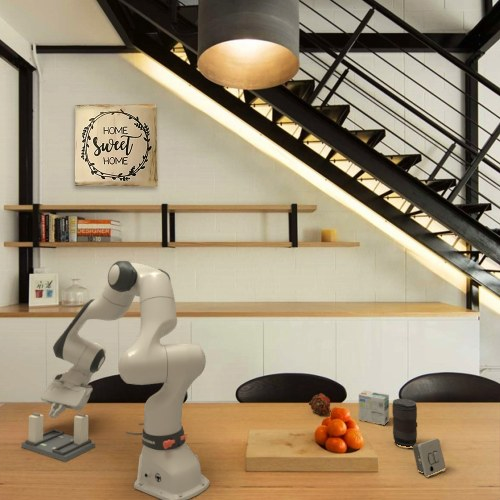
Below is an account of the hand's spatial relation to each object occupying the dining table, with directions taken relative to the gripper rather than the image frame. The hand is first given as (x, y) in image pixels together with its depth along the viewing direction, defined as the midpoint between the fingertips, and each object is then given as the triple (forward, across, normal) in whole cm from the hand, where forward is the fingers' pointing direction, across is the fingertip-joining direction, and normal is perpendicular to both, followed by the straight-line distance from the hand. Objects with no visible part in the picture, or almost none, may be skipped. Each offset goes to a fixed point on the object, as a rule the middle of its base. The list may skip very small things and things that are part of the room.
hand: (51, 417), depth 151 cm
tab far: (+9, 0, 0) cm, 9 cm away
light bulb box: (-45, -98, -58) cm, 123 cm away
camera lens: (-33, -112, -46) cm, 126 cm away
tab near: (+4, -14, -5) cm, 16 cm away
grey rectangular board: (+8, -7, -4) cm, 11 cm away
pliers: (-11, -27, -23) cm, 37 cm away
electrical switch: (-22, -121, -35) cm, 128 cm away
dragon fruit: (-45, -76, -57) cm, 105 cm away
